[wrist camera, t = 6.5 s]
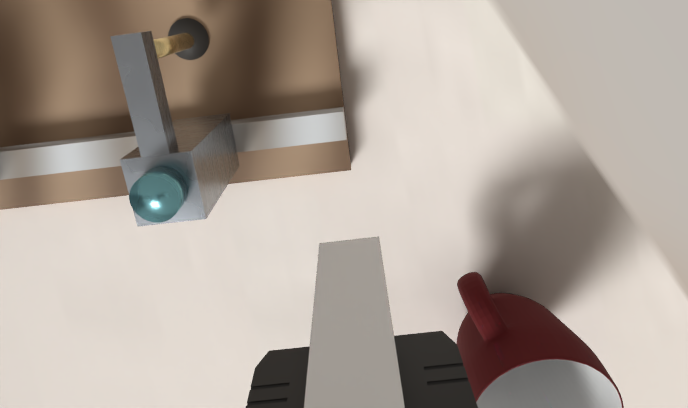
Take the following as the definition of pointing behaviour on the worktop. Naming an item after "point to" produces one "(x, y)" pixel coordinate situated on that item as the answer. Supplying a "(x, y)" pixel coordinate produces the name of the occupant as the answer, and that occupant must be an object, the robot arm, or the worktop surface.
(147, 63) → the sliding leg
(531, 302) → the mug
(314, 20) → the brown wooden board
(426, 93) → the worktop surface
